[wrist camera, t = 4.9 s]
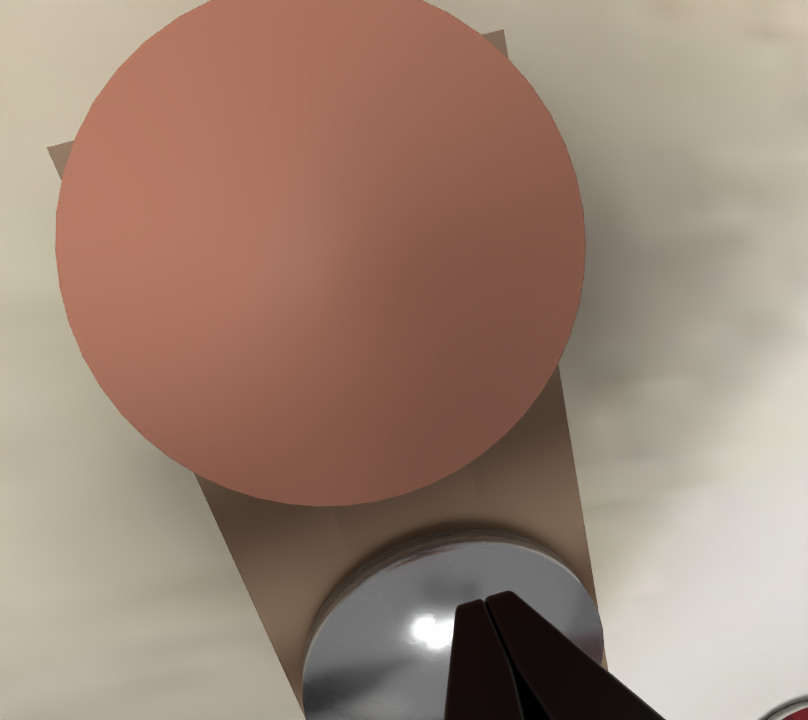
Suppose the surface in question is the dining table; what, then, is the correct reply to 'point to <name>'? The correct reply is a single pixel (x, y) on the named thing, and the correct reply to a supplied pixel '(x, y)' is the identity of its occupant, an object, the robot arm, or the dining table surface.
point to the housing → (400, 515)
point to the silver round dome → (428, 621)
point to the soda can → (792, 712)
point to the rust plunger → (320, 245)
